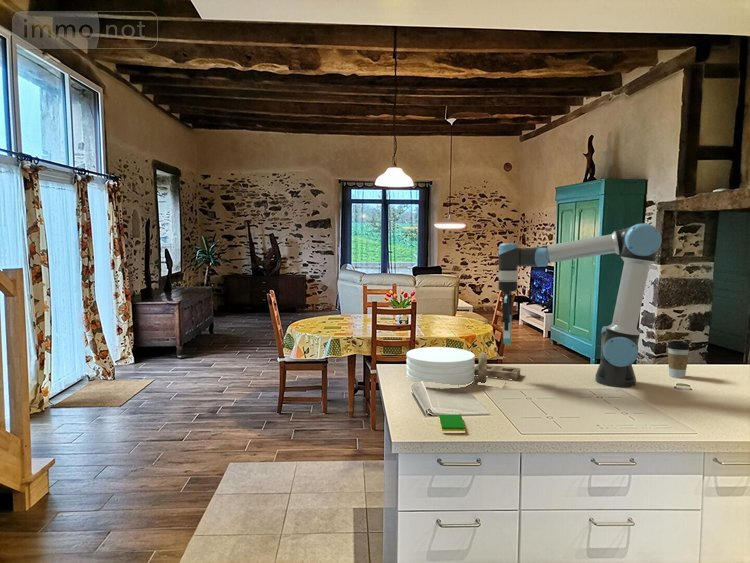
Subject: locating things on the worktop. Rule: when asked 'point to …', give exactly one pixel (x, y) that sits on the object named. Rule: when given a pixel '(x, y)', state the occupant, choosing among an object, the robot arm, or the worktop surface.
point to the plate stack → (440, 365)
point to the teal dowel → (508, 340)
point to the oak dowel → (482, 367)
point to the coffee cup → (678, 358)
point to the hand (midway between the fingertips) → (507, 337)
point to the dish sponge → (452, 423)
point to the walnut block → (500, 372)
